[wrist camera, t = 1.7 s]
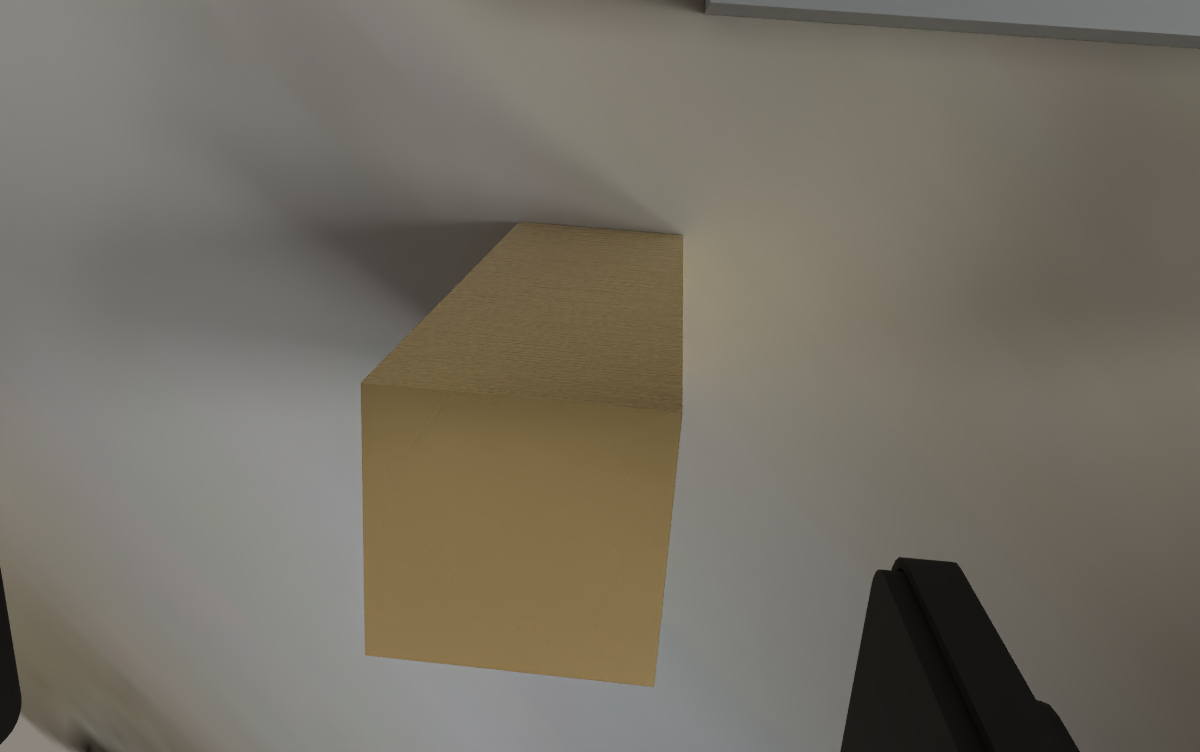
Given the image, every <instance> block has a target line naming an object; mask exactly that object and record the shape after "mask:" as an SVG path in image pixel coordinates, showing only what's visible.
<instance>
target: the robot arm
mask: <svg viewBox="0 0 1200 752" xmlns="http://www.w3.org/2000/svg"><path fill="white" fill-rule="evenodd" d="M20 710H21V692H20V686H19V679H18V673H17V667H16V661H15V655H14V649H13V642H12V636H11V630H10V624H9V618H8V612H7V606H6V599H5V593H4V587H3V581H2V575H1V569H0V744H1V743H2V742H3V741H4V740H5V739H6V738H7V737H8V735H9V734H10V733H11V732H12V730H13V729H14V727H15V725H16V723H17V720H18V718H19V715H20ZM841 752H1080V751H1079V750H1078V748H1077V746H1076V744H1075V743H1074V741H1073V739H1072V738H1071V736H1070V734H1069V733H1068V731H1067V729H1066V728H1065V726H1064V724H1063V722H1062V721H1061V719H1060V717H1059V716H1058V715H1057V713H1056V712H1055V711H1054V710H1053V708H1052V707H1051V706H1050V705H1049V704H1046V703H1044V702H1042V701H1038V700H1036V699H1035V697H1034V695H1033V694H1032V692H1031V690H1030V688H1029V687H1028V685H1027V683H1026V681H1025V680H1024V678H1023V676H1022V675H1021V673H1020V671H1019V669H1018V668H1017V666H1016V664H1015V662H1014V661H1013V659H1012V657H1011V655H1010V654H1009V652H1008V650H1007V648H1006V647H1005V645H1004V643H1003V641H1002V640H1001V638H1000V636H999V634H998V633H997V631H996V629H995V627H994V626H993V624H992V622H991V620H990V619H989V617H988V615H987V613H986V612H985V610H984V608H983V606H982V605H981V603H980V601H979V599H978V598H977V596H976V594H975V592H974V591H973V589H972V587H971V585H970V584H969V582H968V580H967V578H966V577H965V575H964V573H963V571H962V570H961V568H960V567H959V566H958V564H957V563H954V562H946V561H935V560H924V559H913V558H902V557H899V558H898V559H897V560H896V561H895V563H894V565H893V567H892V571H889V570H877V571H876V573H875V575H874V577H873V581H872V585H871V591H870V596H869V602H868V607H867V612H866V618H865V623H864V628H863V634H862V639H861V644H860V650H859V655H858V661H857V666H856V671H855V677H854V682H853V687H852V693H851V698H850V703H849V709H848V714H847V720H846V725H845V730H844V736H843V741H842V746H841Z"/></svg>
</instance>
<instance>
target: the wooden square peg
mask: <svg viewBox="0 0 1200 752" xmlns="http://www.w3.org/2000/svg"><path fill="white" fill-rule="evenodd" d="M682 363H683V235H673V234H661V233H649V232H636V231H624V230H612V229H600V228H588V227H576V226H564V225H552V224H539V223H527V222H518V223H517V224H516V225H515V227H514V228H513V229H512V230H511V231H510V232H509V233H508V234H507V235H506V236H505V237H504V238H503V239H502V240H501V241H500V242H499V243H498V244H497V245H496V246H495V247H494V248H493V249H492V250H491V251H490V252H489V253H488V254H487V255H486V256H485V257H484V258H483V259H482V260H481V261H480V262H479V263H478V264H477V265H476V266H475V267H474V268H473V269H472V270H471V271H470V272H469V273H468V274H467V275H466V276H465V277H464V278H463V279H462V280H461V281H460V282H459V283H458V285H457V286H456V287H455V288H454V289H453V290H452V291H451V292H450V293H449V294H448V295H447V296H446V297H445V298H444V299H443V300H442V301H441V302H440V303H439V304H438V305H437V306H436V307H435V308H434V309H433V310H432V311H431V312H430V313H429V314H428V315H427V316H426V317H425V318H424V319H423V320H422V321H421V322H420V323H419V324H418V325H417V326H416V327H415V328H414V329H413V330H412V331H411V332H410V333H409V334H408V335H407V336H406V337H405V338H404V339H403V340H402V341H401V343H400V344H399V345H398V346H397V347H396V348H395V349H394V350H393V351H392V352H391V353H390V354H389V355H388V356H387V357H386V358H385V359H384V360H383V361H382V362H381V363H380V364H379V365H378V366H377V367H376V368H375V369H374V370H373V371H372V372H371V373H370V374H369V375H368V376H367V377H366V378H365V379H364V380H363V381H362V382H361V415H362V480H363V544H364V609H365V655H369V656H378V657H387V658H396V659H405V660H414V661H423V662H432V663H442V664H451V665H460V666H469V667H478V668H487V669H496V670H505V671H514V672H523V673H533V674H542V675H551V676H560V677H569V678H578V679H587V680H596V681H605V682H614V683H624V684H633V685H642V686H651V687H654V683H655V673H656V663H657V653H658V644H659V634H660V624H661V615H662V605H663V595H664V585H665V576H666V566H667V556H668V547H669V537H670V527H671V517H672V508H673V498H674V488H675V479H676V469H677V459H678V449H679V440H680V430H681V420H682Z"/></svg>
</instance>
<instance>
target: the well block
mask: <svg viewBox="0 0 1200 752" xmlns="http://www.w3.org/2000/svg"><path fill="white" fill-rule="evenodd" d="M705 14H708V15H723V16H737V17H752V18H766V19H781V20H795V21H810V22H824V23H839V24H853V25H868V26H882V27H896V28H911V29H925V30H940V31H954V32H969V33H983V34H998V35H1012V36H1027V37H1041V38H1056V39H1070V40H1085V41H1099V42H1114V43H1128V44H1142V45H1157V46H1171V47H1186V48H1200V0H706V4H705Z"/></svg>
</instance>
